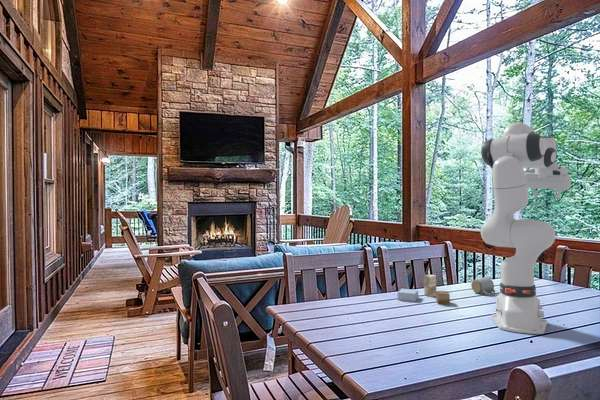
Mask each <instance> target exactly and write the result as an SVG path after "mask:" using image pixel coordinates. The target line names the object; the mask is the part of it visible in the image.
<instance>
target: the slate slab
mask: <svg viewBox="0 0 600 400" xmlns="http://www.w3.org/2000/svg"><path fill="white" fill-rule="evenodd" d="M418 299H419V289H412V288H411V289H410V288H400V289H399V290H398V291H397V301H405V302H416V301H417V300H418Z"/></svg>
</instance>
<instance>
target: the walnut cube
mask: <svg viewBox="0 0 600 400" xmlns="http://www.w3.org/2000/svg"><path fill="white" fill-rule="evenodd" d="M450 297H451V295H450V293H449V291H448V290H436V296H435V298H436V303H437V305H444V306H445V305H448V306H449V305H450V304H451V303H450V302H451V301H450V299H451V298H450Z"/></svg>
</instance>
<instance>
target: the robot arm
mask: <svg viewBox="0 0 600 400" xmlns="http://www.w3.org/2000/svg"><path fill="white" fill-rule="evenodd" d="M480 150H481V151H480V154H481V158H482V161H483V162H484V163H485V164H486V165H488V166H489V167H490V169H492V176H491V177H492V178H491V179H492V187H493V188H492V189H493V195H494V209H493V211H492V214H491V216H490V218H489V219H487V220H486V221H485V222H483V224H482V226H481V227H480V235H481V239H482V240H483V242H484V243H485V244H486V245H490V246H494V247H498V248H499V247H501V248H512V249H513V248H514V249H515V254H514V255H512V256H509V257H508V258H505V259H504V260H503V261H502V262H501V264H500V282H499V292H500V293H499V294H498V295H496V297H495V307H496V308H495V312H496V313H493V314H491V315H490V318H491V319H492V321H493V322H494V323H495V325H496V326H497V328H498V329H500V330H504V331H507V332H514V333H519V334H521V333H522V334H530V335H533V334H534V335H544V334H545V332H546V330H547V326H548V320H547V319H544V317H545V312H544V310H542V309H543V305H541V300H540V298H538V296H536V295H537V287H536V284H535V267H536V266H535V265H536V262H537V260H538V258H539V257H540V255H541V254H542V253H544V251H546V250H547V249H549V248H550V247H551V246H553V244H554V243H555V240H556V231H555V229H554V226H552V225H551V224H550V223H549V222H548V221H547V222H546V221H542V220H537V219H516V218H515V214H516V213H519V212H520V211H522V210H524V209H525V208H526V207H527V206H528V204H529V194H528V193H529V192H528V189H529V188H530V191H531V193H532V195H533V197H539V191H536V189H542V190H543V189H545V190H555V191H556V192H557V193H555V194H554V196H553V197H554V199H560V194H561V193H562V192H563V191H568V190H571V188H572V179H571V176H570V174H569V171H570V170H569V168H568V167H566V166H565V167H564V166H562V165H558V164H557V157H558V155H557V153H558V152H557V143H556V138H555V137H553V136H544V137H543V136H542V135H540V134H539V133H537V131H535V129H534V128H532V127H531V126H530V125H528V124H526V123H523V122H517V121H516V122H512V123H510V124H509V125H507V126H506V128H505V129H504V130H503V134H502V136H501V137H497V138H490V139H488V140H485V141H484V142H483V143H482V145H481V148H480Z"/></svg>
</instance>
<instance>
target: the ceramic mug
mask: <svg viewBox="0 0 600 400" xmlns="http://www.w3.org/2000/svg"><path fill="white" fill-rule="evenodd" d="M471 289H472V291H473V292H474V293H475V294H479V295H481V294H484V295H486V296H489V297H493V296H495V294H496V290H495V283H494V282H493V280H492V279H491V277H487V276H484V277H479V278H475V279H474V280H472V282H471Z"/></svg>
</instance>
